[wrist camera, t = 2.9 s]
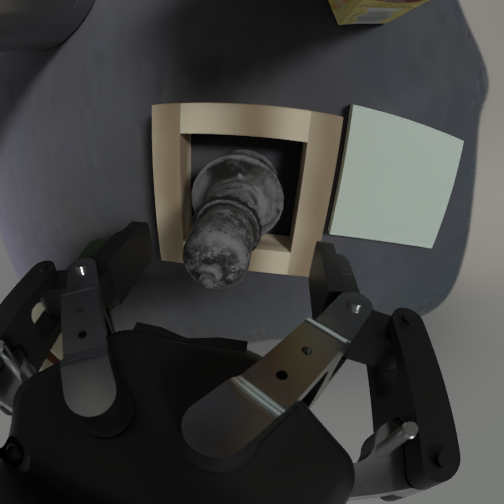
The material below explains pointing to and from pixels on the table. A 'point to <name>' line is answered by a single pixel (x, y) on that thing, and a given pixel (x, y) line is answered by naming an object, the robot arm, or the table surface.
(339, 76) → the table surface
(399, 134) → the coaster
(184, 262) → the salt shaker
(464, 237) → the table surface
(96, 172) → the table surface
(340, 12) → the candy box
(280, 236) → the beige square frame
